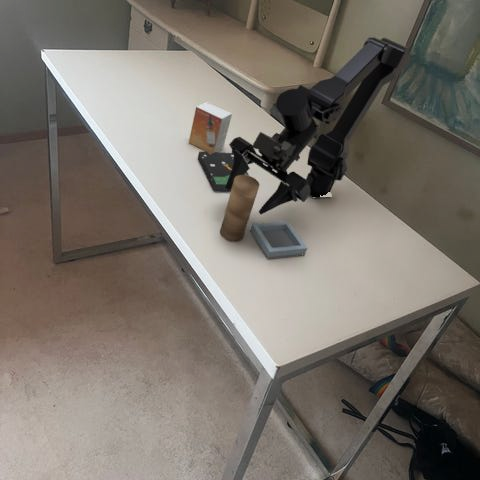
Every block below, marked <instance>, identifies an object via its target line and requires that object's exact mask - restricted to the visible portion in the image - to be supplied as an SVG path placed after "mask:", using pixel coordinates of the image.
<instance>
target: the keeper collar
mask: <svg viewBox="0 0 480 480" xmlns="http://www.w3.org/2000/svg"><path fill="white" fill-rule="evenodd" d="M249 232H250V233H251V236H252V237H253V239H254V240H255V242H256V244H257V245H258V246H259V249H260V250H261V251H262V253H263V255H264V256H265V258H266V260H272V259H273V260H274V259H281V258H282V259H283V258H290V257H289V256H292V257H298V256H297V255H302V254H305V255H306V252H307V250H308V247H307V246H306V244H305V243H304V241H303V239H301V237H300V236H299V235H298V233H297V231H296V230H295V228H294V227H293V226H292V225H291V223H290V222H289V221H286V220H285V221H271V222H257V223H254V222H253V223H251V225H250V229H249ZM302 256H303V255H302Z"/></svg>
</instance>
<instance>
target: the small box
mask: <svg viewBox="0 0 480 480" xmlns="http://www.w3.org/2000/svg"><path fill="white" fill-rule="evenodd" d="M232 116H233V113H232V112H230V111H227V110H225V109H222V108H220V107H218V106H216V105H214V104H212V103H210V102H208V101H206V102H204V103H201V104H199V105H197V106H196V107H195V111H194V115H193V118H192V119H193V120H192V125H191V130H190V133H189V139H188V143H189V144H191V145H194V147H197V148H199V149H201V150H203V151H204V152H208V153H209V154H212V153H215V152H220V151H221V150H223V149H224V146H225V143H226V138H227V136H228V131H229V128H230V123H231V120H232Z"/></svg>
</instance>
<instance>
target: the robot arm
mask: <svg viewBox="0 0 480 480" xmlns="http://www.w3.org/2000/svg"><path fill="white" fill-rule="evenodd" d="M409 52H410V49H409V47H408V46H405V45H403V44H401V43H398V42H396V41H394V40H392V39H389V38H386V37H383V38H381V39H379V38H377V37H375V36H374V37H372V36H369V37H368V38H367V39H366V40H365V42H364V44H363V46H362V47H361V49H359V50H358V51H357V52H356V53H355V55H353V56H352V58H350V59H349V60H348V61H347V62H346V63H345V64H344V65H343V66H341V68H340V69H339V70H338V71H337V72H336V73H335V74H334V75H333V76H331V77H330V78H328V79H322V80H319V81H318V82H317V83H315V84H314V85H312V86H311V87H310V88H308V87H306V86H304V85H302V84H300V85H299V86H298V87H297V88H290V89H287V90H285V91H283V92H281V93H280V94H279V95H278V96H277V99H276V102H275V107H276V110H277V112H278V115H279V118H280V120H281V123H282V125H283V127H284V128H283V129H282V130H281V132H280V133H278V132H275V133H274V134H273V135H272V136H270V135H267V134H265V133H264V132H262V131H259V133H258V135H257V136H256V138H255V141H254V142H253V144H252V143H251V142H249V141H247V140H246V139H244V138H242V137H241V136H238V137H235V138H233V139H232V140H231V142H230V143H228V146H229V147H230V149H231V153H232V154H233V155H234V163H233V167H232V170H231V173H230V176H229V179H228V181H227V184H226V187H225V188H226V190H229V189H230V188H232V186H233V182H234V178H235V177H236V176H238V175H244V174H245V173H246V172H247V173H248V171H249V170H250V166H249V165H251V164H252V165H253V164H255V165H257V166H258V167H259V168H260V169H262V170H264V171H265V172H267V173H268V174H269V175H272V176H273V177H274V178H276V179H277V180H279V181H280V182H279V184H278V187H277V188H276V189H275V191H274V193H273V194H272V195H271V196H270V197H269V198H267V200H266V202H264V204H263V205H262V206H261V208H260V209H259V211H258V214H260V215H263V214H265V213H267V212H269V211H271V210H273V209H275V208H276V207H278V206H279V207H280V206H282V205H283V204H287V203H289V202H292V201H293V202H295V203H297V201H301V202H302V203H305V202H306V200H307V199H308V198H309V197H311V196H312V197H320V195H321V196H323V195H326V194H327V193H328V192H331V190H332V188H333V186H334V185H335V182H336V181H339V182H340V181H342V179H343V177H344V176H345V175H346V172H347V170H348V167H347V163H346V162H347V161H346V159H347V158H348V155H349V153H350V152H349V150H350V144H349V143H350V140H351V138H352V137H353V135H354V133H355V132H356V130H357V129H358V127H359V125H360V124H361V122H362V120H363V119H364V118H365V116H366V114H367V113H368V111H369V110H370V107H371V106H372V104H373V103H374V101H375V100H376V98H377V96H378V95H379V93H380V91H381V90H382V89H383V88H384V86H385V85H387V84H388V83H390V82H392V81H394V80H396V79H397V77H398V76H399V75H400V74H401V72H402V71H404V70H405V69H406V67H407V66H408V65H409V63H410V60H411V54H409ZM355 89H356V91H355V92H354V93H353V95H352V97H351V98H350V100H349V102H348V103H347V105H346V106H345V102H346V98H348V96H349V95H350V94H351V93H352V92H353V91H354V90H355ZM344 107H345V108H344ZM342 111H343V112H342ZM316 120H317V121H318V122H321V123H322V124H324V125H330V124H331V123H334V121H336V120H337V121H336V123H335V124H334V126H333V128H331V130H330V131H328V132H327V133H321V134H320V135H319V124H317V122H316ZM313 139H316V142H315V143H314V144H313V145H311V147H310V149H309V152H308V157H307V163H306V165H307V166H308V167H309V166H310V167H311V168H310V172H308V174H307V175H306V178H305V177H303V176H302V175H300V174H298V173H297V172H295V171H290V172H289V173H288V171H287V170H288V169H289V168H290V167H291V165H292V164H293V163H294V162H295V161H296V162H298V161H299V160H300V159H301V156H300V154H301V153H303V150H304V149H305V148H307V146H308V145H309V143H310V142H311V141H312V140H313ZM256 150H257V151H258V153H259V154H258V153H257V152H256ZM310 195H311V196H310ZM312 197H311V198H312Z"/></svg>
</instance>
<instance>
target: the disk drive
mask: <svg viewBox="0 0 480 480" xmlns="http://www.w3.org/2000/svg"><path fill="white" fill-rule="evenodd" d="M197 161H198V163H199V164H200V167H201V169H202V171H203V173H204V175H205V177H206V179H207V181H208V183H209V185H210V188H211V190H212V191H213V192H214V193H231V189H232V188H230V189H229V190H226V188H225V187H226V184H227V181H228V179H229V176H230V173H231V170H232V167H233V163H234V155H233V154H232V152H220V151H218V152H215V153H212V154H210V153H208V152H207V151H198V155H197ZM244 175H247V176H250V174H249V173H248V171H247V172H246V173H245V174H244Z"/></svg>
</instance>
